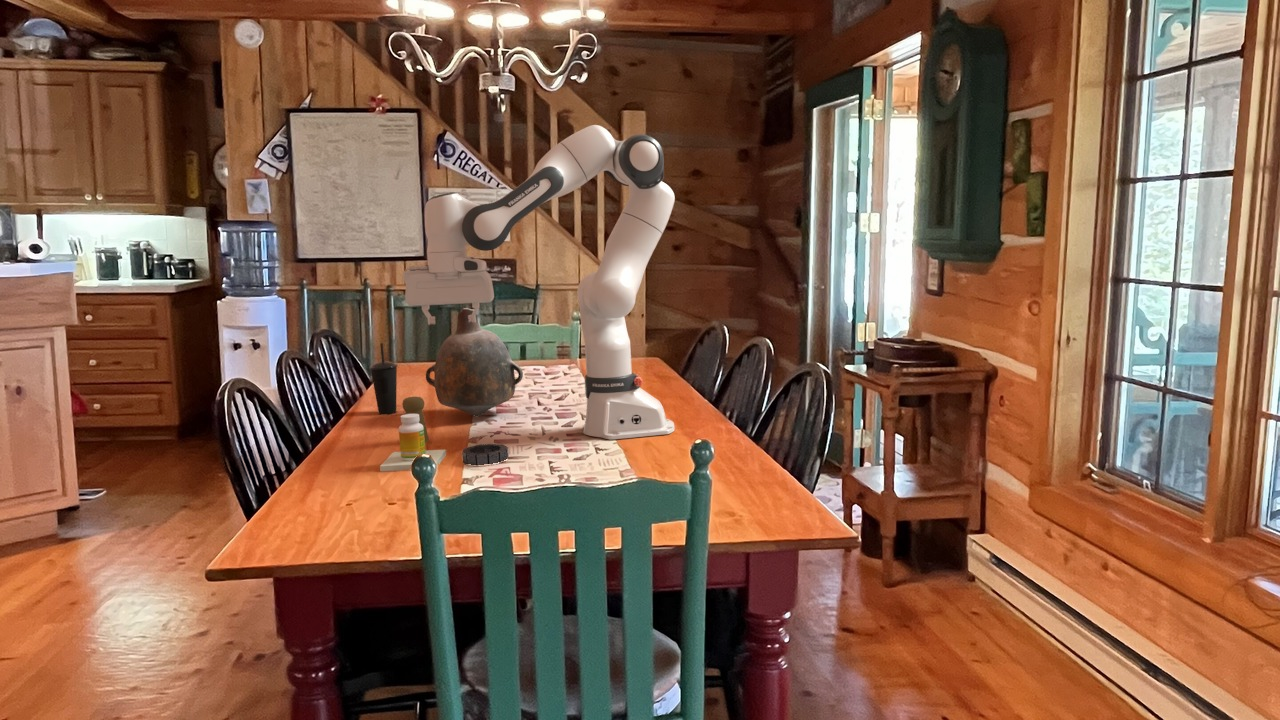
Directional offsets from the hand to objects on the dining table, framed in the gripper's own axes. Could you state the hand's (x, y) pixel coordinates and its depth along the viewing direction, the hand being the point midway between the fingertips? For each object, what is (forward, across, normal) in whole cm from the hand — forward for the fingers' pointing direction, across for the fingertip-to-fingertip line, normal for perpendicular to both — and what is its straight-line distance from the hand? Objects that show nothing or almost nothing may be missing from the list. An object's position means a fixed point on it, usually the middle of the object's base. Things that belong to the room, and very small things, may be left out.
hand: (452, 323), depth 214 cm
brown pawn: (+29, -12, +6) cm, 32 cm away
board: (+29, -8, -15) cm, 34 cm away
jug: (+29, -1, +32) cm, 43 cm away
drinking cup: (+29, -28, +43) cm, 59 cm away
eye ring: (+29, +8, -16) cm, 34 cm away
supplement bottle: (+28, -8, -16) cm, 33 cm away
